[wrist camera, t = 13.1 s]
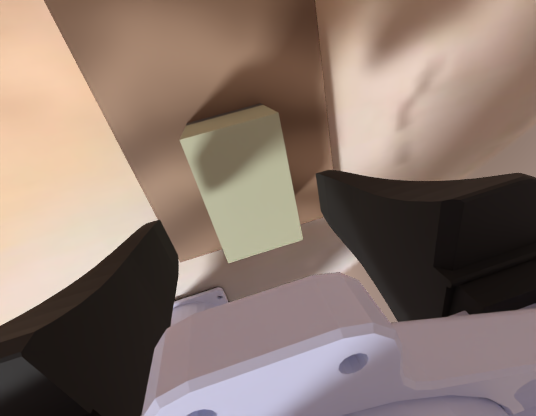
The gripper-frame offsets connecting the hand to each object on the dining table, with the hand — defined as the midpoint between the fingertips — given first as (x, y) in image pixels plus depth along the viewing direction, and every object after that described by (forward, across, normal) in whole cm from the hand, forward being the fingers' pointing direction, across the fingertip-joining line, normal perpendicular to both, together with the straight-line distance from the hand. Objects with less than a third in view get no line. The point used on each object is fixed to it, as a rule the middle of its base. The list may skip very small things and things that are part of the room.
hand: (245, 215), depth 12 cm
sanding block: (+8, 0, +1) cm, 8 cm away
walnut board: (+9, 0, -2) cm, 10 cm away
